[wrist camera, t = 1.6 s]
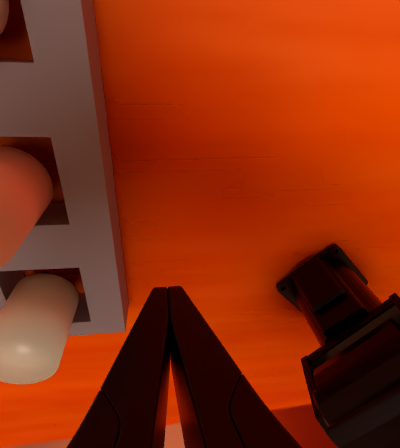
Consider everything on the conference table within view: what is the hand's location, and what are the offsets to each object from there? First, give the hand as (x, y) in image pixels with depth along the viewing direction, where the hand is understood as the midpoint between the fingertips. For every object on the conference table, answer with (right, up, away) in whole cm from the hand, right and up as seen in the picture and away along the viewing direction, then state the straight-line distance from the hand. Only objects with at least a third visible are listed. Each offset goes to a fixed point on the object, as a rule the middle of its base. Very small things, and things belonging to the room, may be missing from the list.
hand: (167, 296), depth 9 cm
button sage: (-10, -3, +11) cm, 15 cm away
